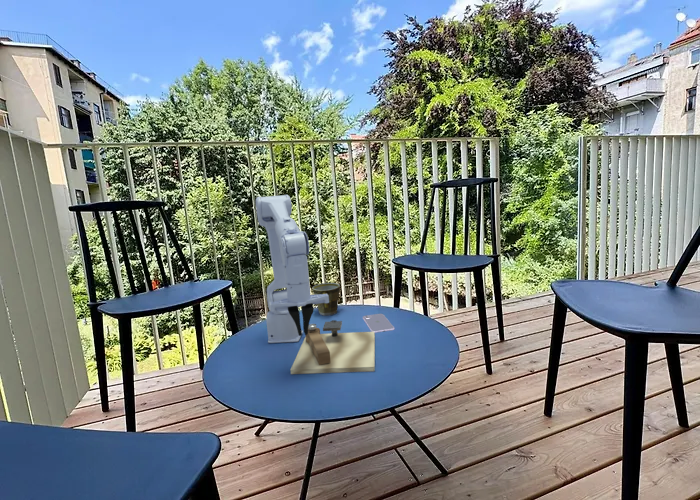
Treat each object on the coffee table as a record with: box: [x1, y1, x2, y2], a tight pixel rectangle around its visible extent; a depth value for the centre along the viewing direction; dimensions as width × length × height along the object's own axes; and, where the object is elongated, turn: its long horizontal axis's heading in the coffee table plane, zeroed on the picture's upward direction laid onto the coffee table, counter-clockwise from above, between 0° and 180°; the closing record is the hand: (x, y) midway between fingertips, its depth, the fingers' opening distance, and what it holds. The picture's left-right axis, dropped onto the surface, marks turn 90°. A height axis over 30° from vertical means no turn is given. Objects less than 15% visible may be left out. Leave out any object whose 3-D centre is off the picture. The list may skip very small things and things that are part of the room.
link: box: [304, 326, 331, 365], centre depth 102 cm, size 18×4×3 cm, turn 16°
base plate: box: [290, 331, 376, 375], centre depth 103 cm, size 21×22×1 cm
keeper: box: [308, 319, 343, 337], centre depth 110 cm, size 10×6×5 cm, turn 86°
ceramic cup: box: [312, 282, 341, 317], centre depth 134 cm, size 13×10×10 cm
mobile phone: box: [362, 313, 395, 334], centre depth 123 cm, size 8×1×15 cm
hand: (302, 333), depth 94 cm, fingers closed
